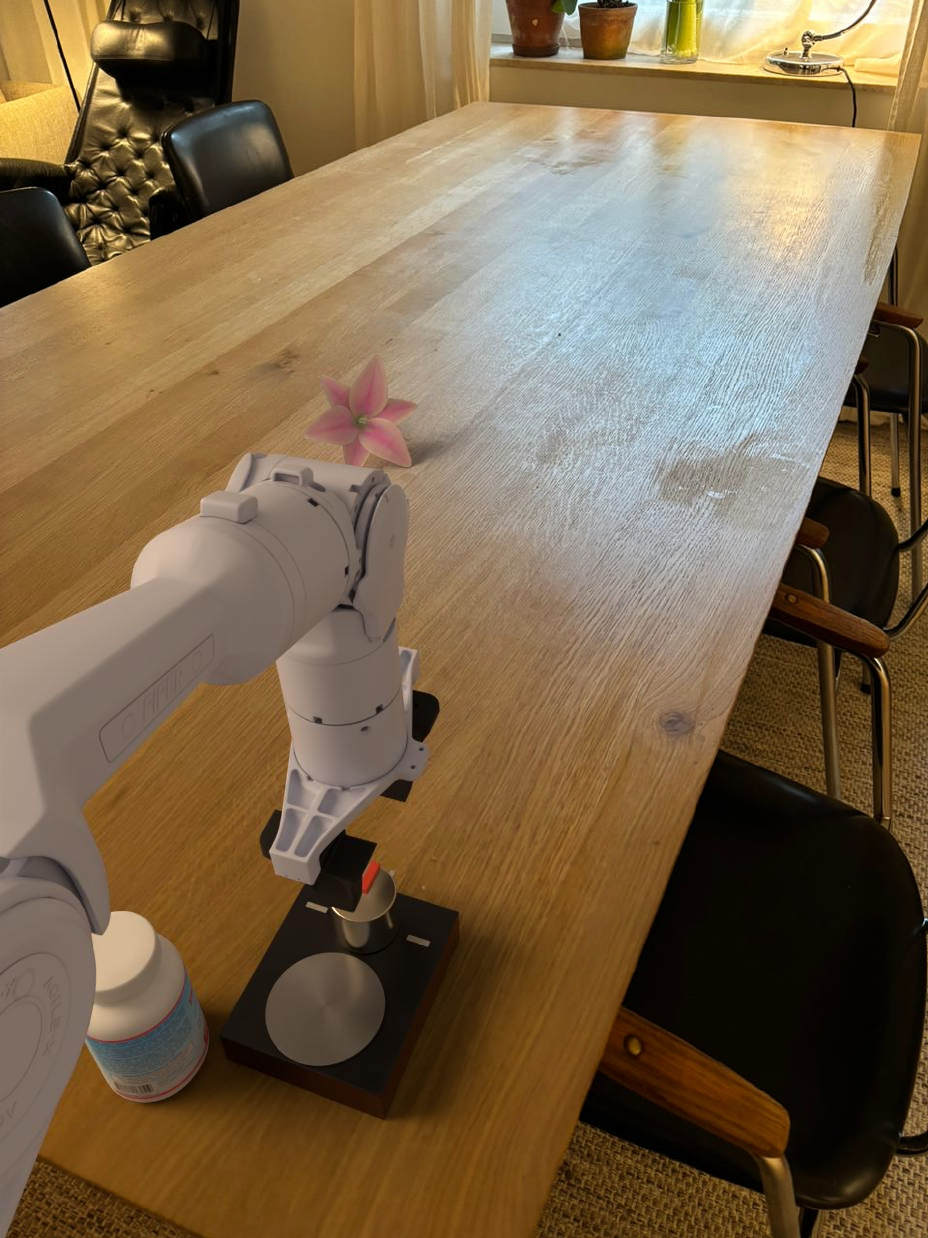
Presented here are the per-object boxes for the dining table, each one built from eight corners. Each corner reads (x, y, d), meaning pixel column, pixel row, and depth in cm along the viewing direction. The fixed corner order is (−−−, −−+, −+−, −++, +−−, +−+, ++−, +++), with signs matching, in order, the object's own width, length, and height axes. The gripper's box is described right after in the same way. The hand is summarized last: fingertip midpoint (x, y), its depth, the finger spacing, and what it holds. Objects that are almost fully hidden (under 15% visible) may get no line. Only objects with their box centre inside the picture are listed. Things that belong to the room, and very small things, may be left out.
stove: (384, 1121, 55) (380, 1096, 53) (226, 1060, 58) (217, 1033, 55) (467, 921, 64) (466, 893, 62) (328, 876, 67) (323, 848, 65)
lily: (290, 481, 106) (303, 430, 98) (307, 393, 111) (321, 338, 103) (399, 507, 109) (420, 459, 100) (411, 420, 114) (432, 368, 105)
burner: (354, 1085, 53) (354, 1083, 53) (243, 1043, 55) (243, 1041, 55) (403, 975, 58) (403, 973, 58) (300, 940, 60) (299, 938, 60)
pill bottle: (232, 1036, 59) (196, 932, 51) (156, 1127, 55) (106, 1028, 47) (158, 986, 61) (114, 879, 54) (81, 1069, 57) (22, 967, 50)
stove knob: (383, 963, 59) (379, 927, 56) (323, 942, 60) (316, 906, 57) (409, 907, 62) (406, 871, 59) (351, 888, 63) (345, 852, 60)
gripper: (359, 822, 41) (384, 980, 51) (469, 601, 51) (472, 767, 61) (210, 781, 43) (260, 941, 52) (344, 575, 53) (366, 740, 62)
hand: (366, 846), depth 57 cm, fingers open, 7 cm apart
